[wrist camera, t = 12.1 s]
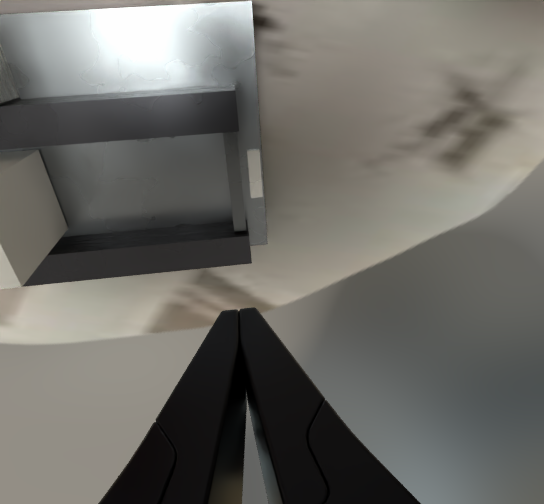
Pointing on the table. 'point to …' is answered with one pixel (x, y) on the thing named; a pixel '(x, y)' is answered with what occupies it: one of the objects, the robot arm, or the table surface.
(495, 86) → the table surface
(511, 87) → the table surface
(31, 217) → the block
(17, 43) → the grey desk organizer
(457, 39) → the table surface
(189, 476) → the robot arm
